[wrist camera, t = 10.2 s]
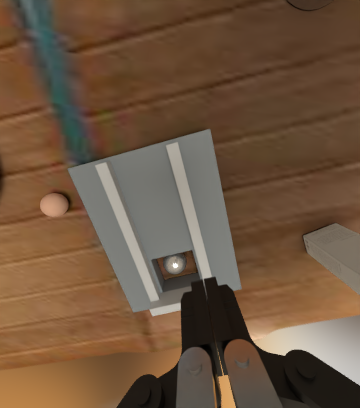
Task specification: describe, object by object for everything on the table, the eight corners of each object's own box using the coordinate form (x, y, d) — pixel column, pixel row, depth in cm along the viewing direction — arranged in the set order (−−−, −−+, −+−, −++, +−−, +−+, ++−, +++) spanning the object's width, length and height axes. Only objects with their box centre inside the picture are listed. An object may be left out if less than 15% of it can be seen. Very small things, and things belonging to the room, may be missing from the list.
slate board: (78, 166, 28) (53, 172, 23) (206, 130, 27) (214, 127, 21) (136, 299, 37) (129, 328, 31) (236, 277, 35) (247, 303, 30)
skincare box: (306, 253, 34) (373, 311, 22) (301, 233, 33) (368, 284, 21) (340, 240, 33) (427, 293, 22) (336, 219, 32) (426, 264, 20)
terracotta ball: (46, 193, 30) (29, 200, 26) (67, 188, 29) (52, 194, 26) (56, 214, 31) (41, 223, 27) (76, 208, 30) (64, 217, 27)
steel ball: (164, 253, 34) (158, 252, 31) (184, 248, 34) (181, 246, 30) (168, 276, 33) (163, 277, 29) (190, 270, 33) (187, 271, 29)
